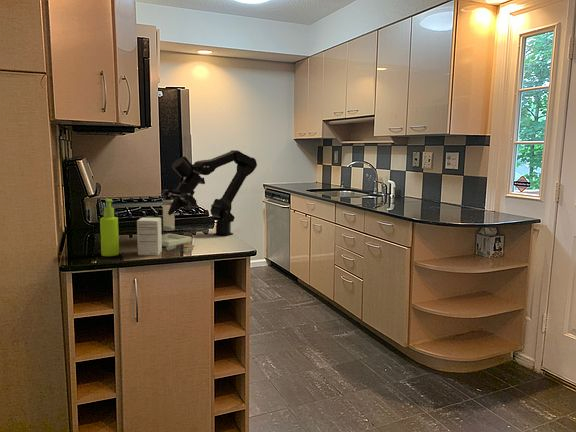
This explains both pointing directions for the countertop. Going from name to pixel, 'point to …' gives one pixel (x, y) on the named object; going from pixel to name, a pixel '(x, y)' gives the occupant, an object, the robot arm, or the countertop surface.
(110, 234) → the soap dispenser
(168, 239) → the tray
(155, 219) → the supplement box
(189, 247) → the blocks
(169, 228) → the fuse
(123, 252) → the countertop surface
